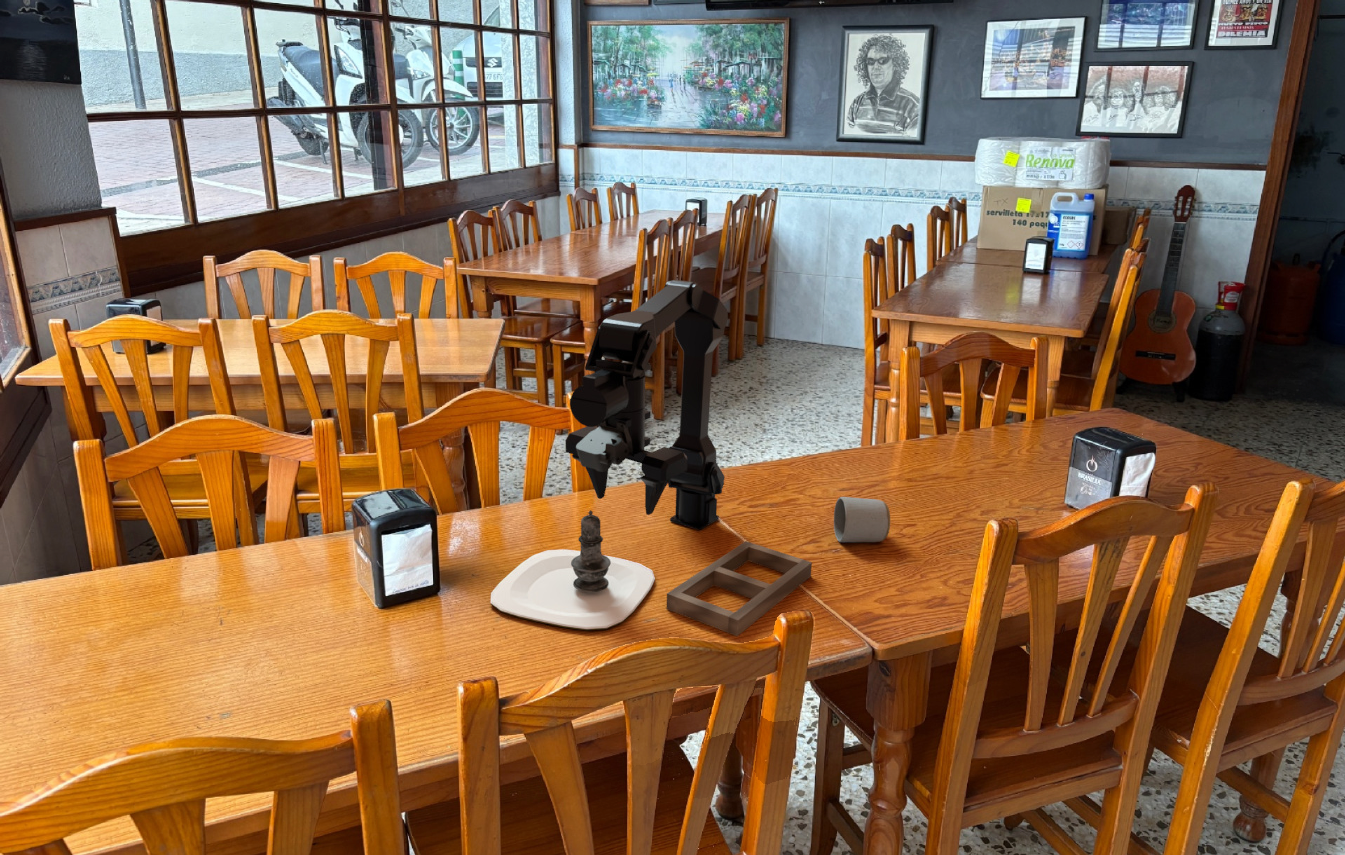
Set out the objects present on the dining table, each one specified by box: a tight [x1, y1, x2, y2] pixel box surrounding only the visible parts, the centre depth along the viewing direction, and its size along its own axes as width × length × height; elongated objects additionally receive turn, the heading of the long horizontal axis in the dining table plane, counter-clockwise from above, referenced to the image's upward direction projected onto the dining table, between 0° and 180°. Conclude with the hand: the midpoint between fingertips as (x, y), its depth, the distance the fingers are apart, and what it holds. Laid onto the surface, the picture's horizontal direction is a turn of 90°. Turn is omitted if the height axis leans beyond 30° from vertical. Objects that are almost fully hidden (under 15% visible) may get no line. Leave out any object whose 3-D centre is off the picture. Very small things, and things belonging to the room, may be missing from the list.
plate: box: [490, 548, 656, 631], centre depth 137 cm, size 22×22×2 cm
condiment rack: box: [665, 541, 813, 637], centre depth 138 cm, size 12×22×2 cm, turn 145°
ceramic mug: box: [833, 496, 891, 543], centre depth 157 cm, size 11×8×8 cm
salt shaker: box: [571, 510, 611, 592], centre depth 136 cm, size 6×6×12 cm
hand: (624, 505), depth 136 cm, fingers open, 9 cm apart
